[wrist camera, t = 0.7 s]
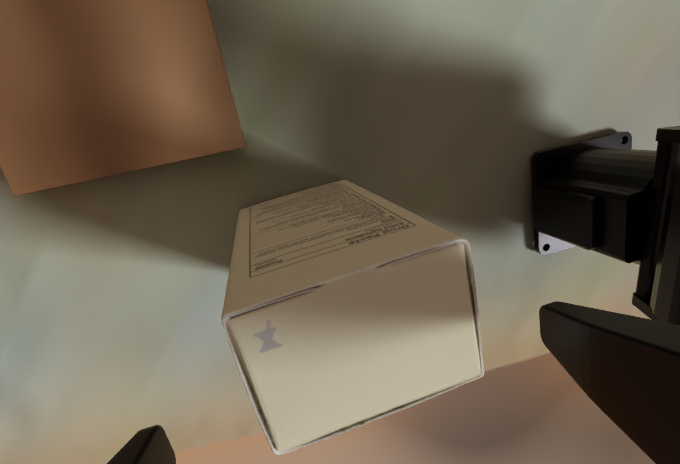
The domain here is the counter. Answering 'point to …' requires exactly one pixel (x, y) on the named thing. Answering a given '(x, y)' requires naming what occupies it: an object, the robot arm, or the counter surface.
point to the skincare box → (346, 311)
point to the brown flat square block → (109, 89)
